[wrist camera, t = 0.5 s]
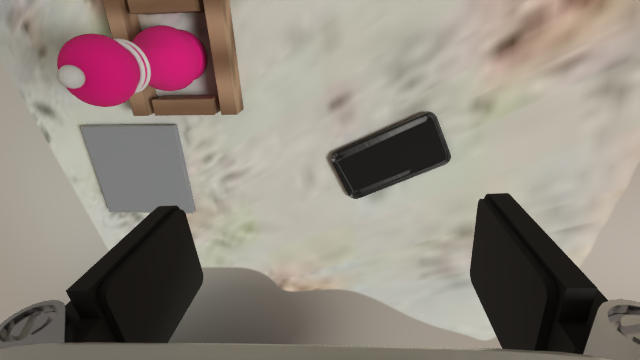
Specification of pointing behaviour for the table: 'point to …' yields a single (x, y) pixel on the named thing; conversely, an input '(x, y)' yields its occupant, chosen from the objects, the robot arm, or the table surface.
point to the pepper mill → (129, 64)
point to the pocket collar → (124, 24)
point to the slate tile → (139, 166)
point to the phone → (392, 155)
